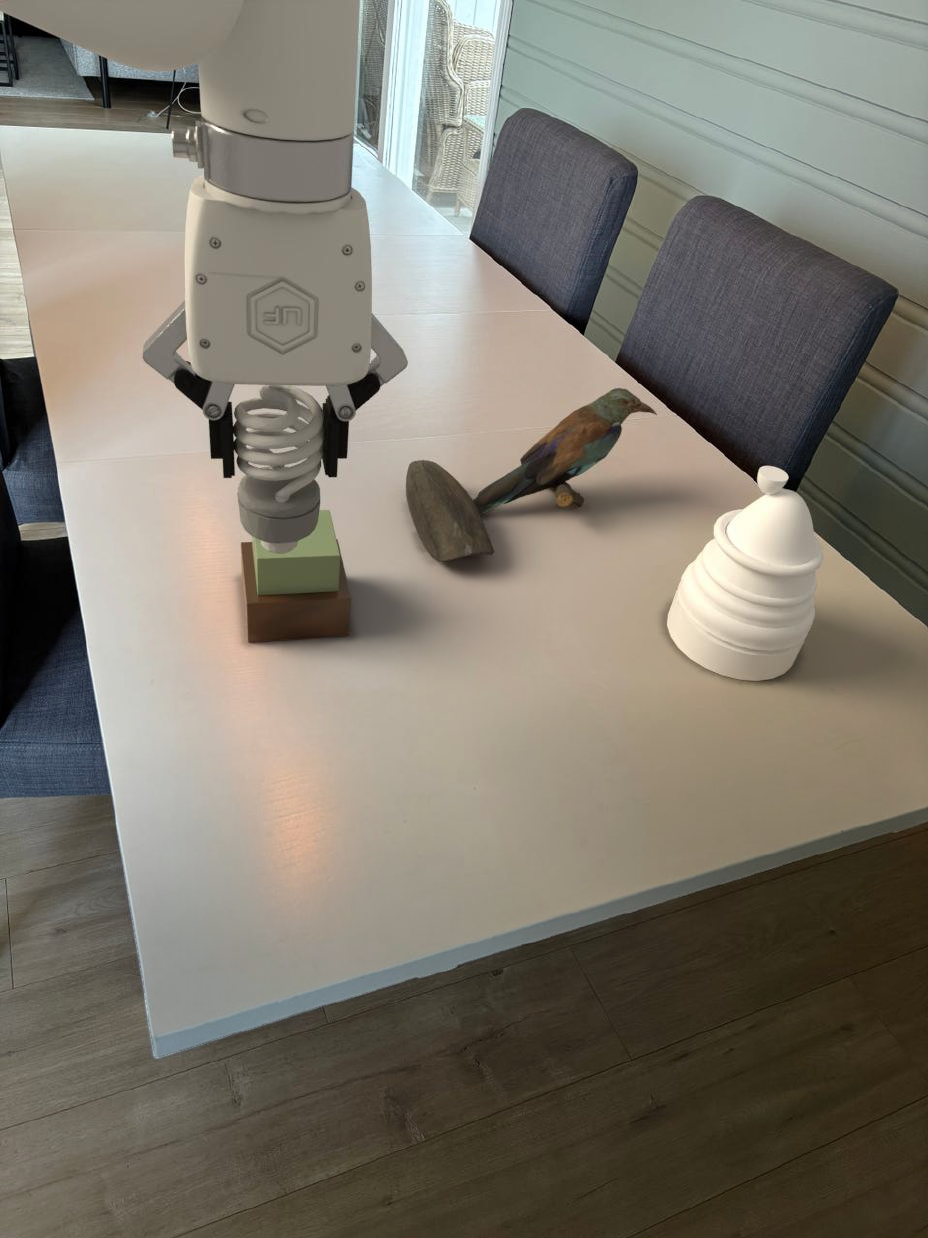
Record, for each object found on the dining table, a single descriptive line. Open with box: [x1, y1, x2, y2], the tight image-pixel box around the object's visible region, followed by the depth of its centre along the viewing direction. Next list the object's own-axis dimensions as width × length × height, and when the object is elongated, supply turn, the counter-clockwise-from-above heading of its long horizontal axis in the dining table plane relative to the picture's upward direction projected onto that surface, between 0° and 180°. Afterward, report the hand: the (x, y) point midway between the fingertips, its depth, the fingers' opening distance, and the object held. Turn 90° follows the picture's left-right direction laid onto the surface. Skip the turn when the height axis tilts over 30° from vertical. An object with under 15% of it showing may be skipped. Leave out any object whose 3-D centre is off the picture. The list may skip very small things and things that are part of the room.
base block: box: [240, 538, 352, 643], centre depth 84 cm, size 9×9×4 cm
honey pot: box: [666, 465, 825, 682], centre depth 85 cm, size 13×13×18 cm
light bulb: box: [233, 385, 325, 554], centre depth 59 cm, size 6×6×12 cm
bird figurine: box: [472, 387, 658, 516], centre depth 101 cm, size 13×10×20 cm
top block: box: [251, 509, 340, 595], centre depth 81 cm, size 7×7×4 cm
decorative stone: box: [405, 459, 495, 563], centre depth 97 cm, size 17×6×4 cm, turn 20°
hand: (279, 464), depth 58 cm, fingers closed on light bulb, 5 cm apart
